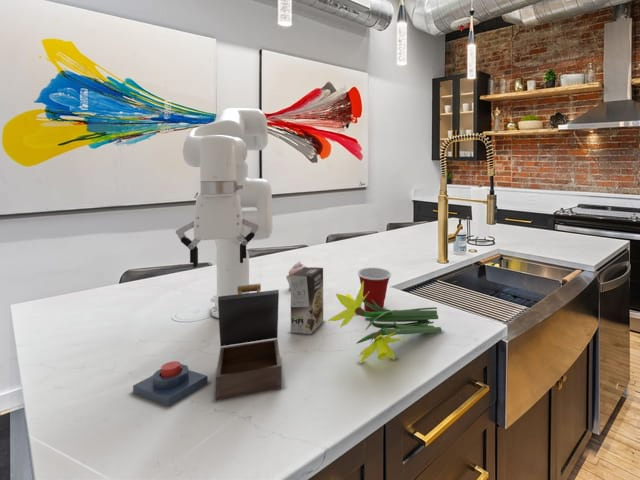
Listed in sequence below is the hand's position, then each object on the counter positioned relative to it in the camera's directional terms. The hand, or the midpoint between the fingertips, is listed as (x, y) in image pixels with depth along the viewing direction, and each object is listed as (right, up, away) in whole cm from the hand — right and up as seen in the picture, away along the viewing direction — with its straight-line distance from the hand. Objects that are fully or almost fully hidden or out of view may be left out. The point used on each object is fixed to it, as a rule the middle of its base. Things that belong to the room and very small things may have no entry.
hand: (219, 263), depth 93 cm
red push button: (-7, -21, -7) cm, 24 cm away
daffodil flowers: (+40, -24, +11) cm, 48 cm away
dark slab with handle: (+7, -13, 0) cm, 15 cm away
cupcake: (+4, -24, +57) cm, 62 cm away
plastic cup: (+33, -24, +37) cm, 55 cm away
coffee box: (+15, -24, +23) cm, 37 cm away
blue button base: (-7, -25, -7) cm, 26 cm away
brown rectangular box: (+8, -24, -3) cm, 26 cm away
